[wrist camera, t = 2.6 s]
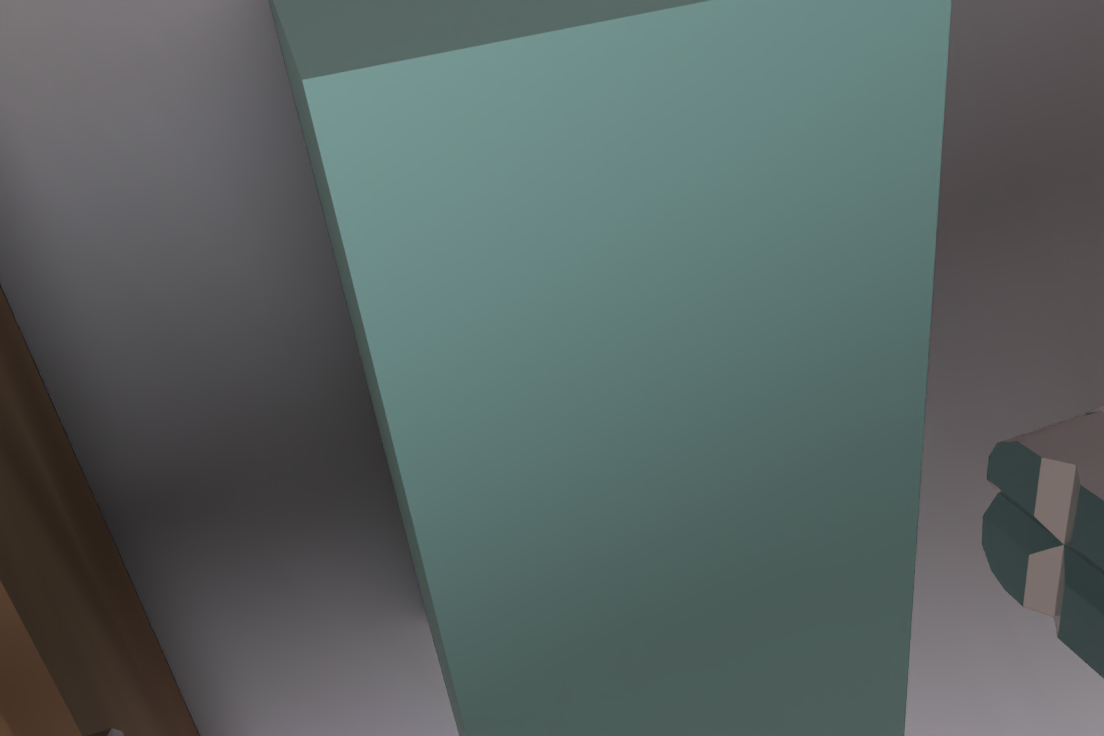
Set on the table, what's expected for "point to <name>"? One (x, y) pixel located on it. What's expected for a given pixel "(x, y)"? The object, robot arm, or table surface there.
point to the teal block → (643, 342)
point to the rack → (66, 585)
